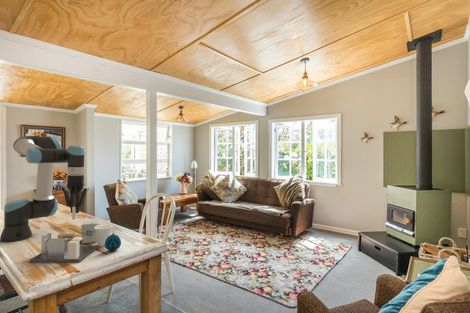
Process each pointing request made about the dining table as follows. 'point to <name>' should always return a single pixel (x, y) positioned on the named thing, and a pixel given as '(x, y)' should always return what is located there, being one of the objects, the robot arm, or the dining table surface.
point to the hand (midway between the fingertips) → (74, 218)
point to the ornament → (112, 242)
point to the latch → (74, 248)
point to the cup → (102, 233)
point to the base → (65, 258)
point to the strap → (65, 238)
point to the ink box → (89, 231)
